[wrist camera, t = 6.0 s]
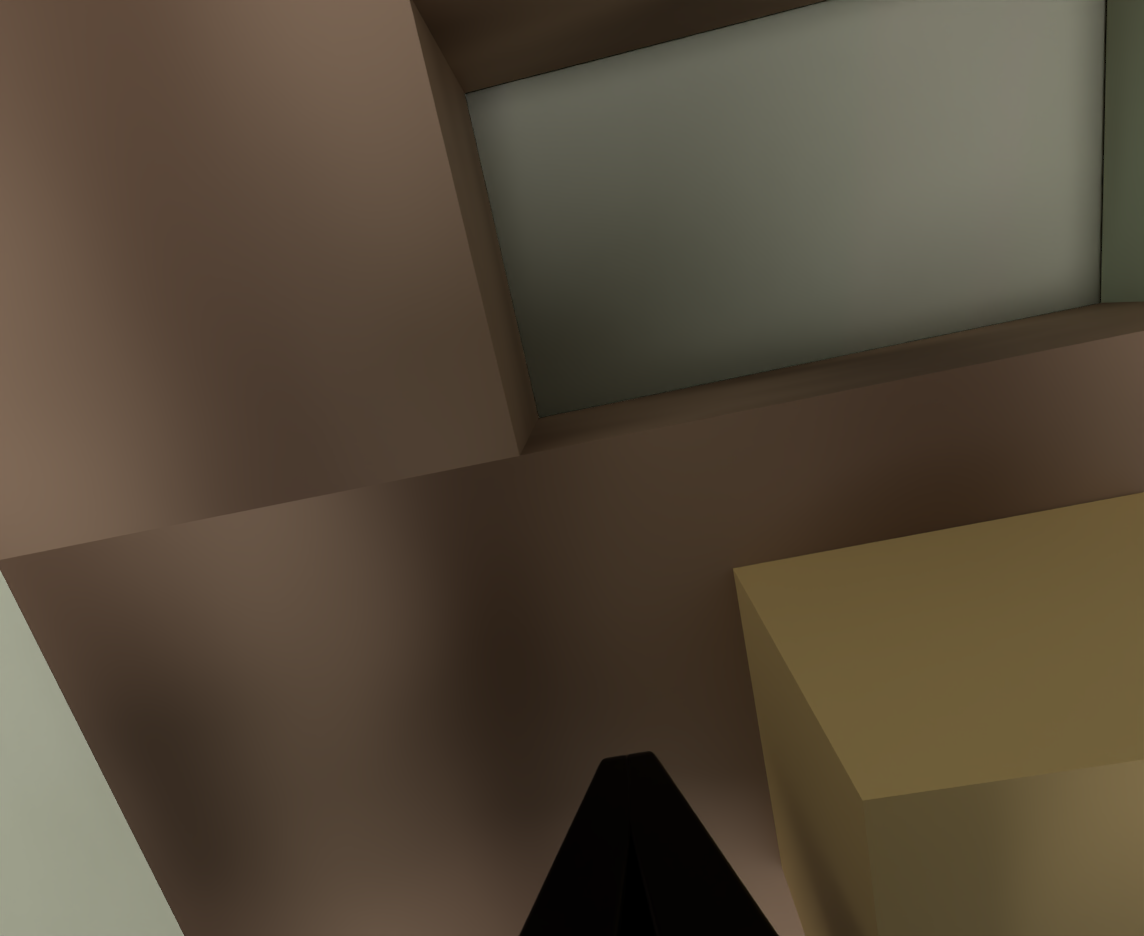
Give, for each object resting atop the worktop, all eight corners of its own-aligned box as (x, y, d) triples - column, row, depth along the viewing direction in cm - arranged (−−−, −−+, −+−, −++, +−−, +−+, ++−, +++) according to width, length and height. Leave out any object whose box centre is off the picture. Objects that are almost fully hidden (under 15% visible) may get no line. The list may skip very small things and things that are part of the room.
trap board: (391, 1080, 15) (345, 1256, 13) (-13, 112, 10) (-276, 21, 7) (1444, 966, 13) (1683, 1147, 10) (1756, -374, 7) (2499, -814, 5)
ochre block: (781, 866, 9) (914, 1253, 6) (733, 567, 8) (861, 799, 4) (1135, 819, 9) (1550, 1204, 5) (1145, 491, 8) (1723, 675, 4)
